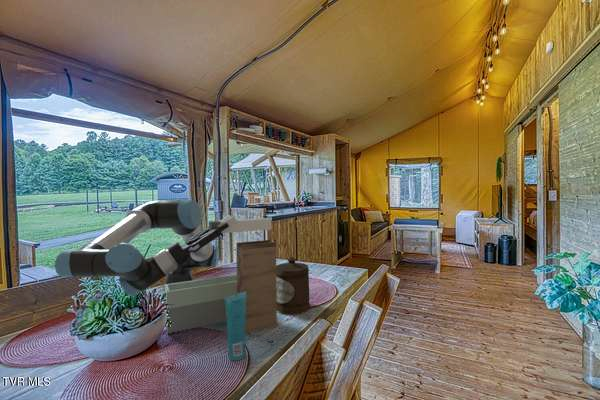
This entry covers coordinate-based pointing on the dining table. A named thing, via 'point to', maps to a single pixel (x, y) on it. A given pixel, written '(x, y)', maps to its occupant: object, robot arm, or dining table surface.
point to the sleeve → (244, 225)
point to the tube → (236, 324)
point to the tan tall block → (258, 283)
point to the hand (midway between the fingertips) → (233, 218)
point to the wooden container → (292, 287)
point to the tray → (199, 302)
